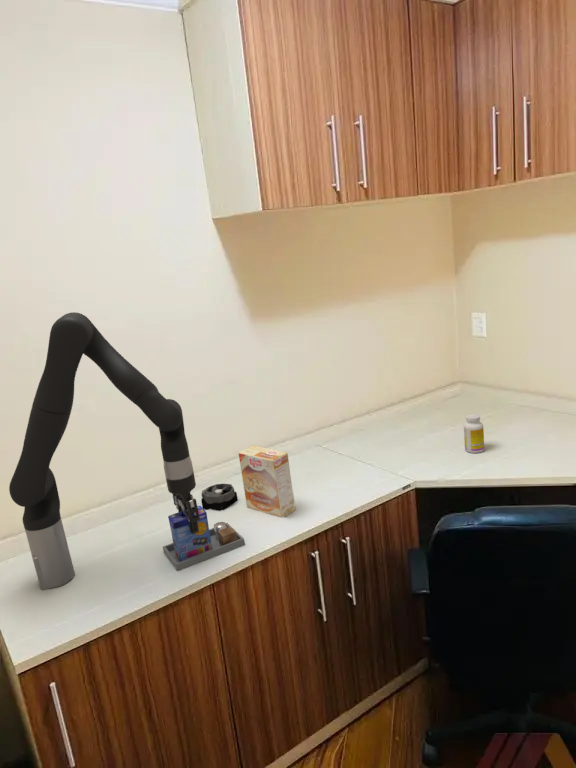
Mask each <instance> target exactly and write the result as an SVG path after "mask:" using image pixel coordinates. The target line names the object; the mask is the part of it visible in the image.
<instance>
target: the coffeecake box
mask: <svg viewBox="0 0 576 768" xmlns="http://www.w3.org/2000/svg"><path fill="white" fill-rule="evenodd" d="M238 459H239V465H240V471H241V478H242V483H243V490H244V496H245V502H246V508H248V509H250V510H253V511H257V512H260V513H264V514H266V515H270V516H275V517H277V518H283V517H285V518H286V517H287V516H288V515H290V514H292V513H293V512H295V511H296V506H295V505H296V504H295V499H294V491H293V482H292V475H291V469H290V468H291V466H290V462H289V454H288V452H285V451H281V450H276V449H271V448H267V447H262V446H257V445H251V446H249V447H247V448H246V449H245V448H244V449H243V450H241V451H239V452H238Z"/></svg>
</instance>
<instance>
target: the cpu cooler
mask: <svg viewBox="0 0 576 768" xmlns="http://www.w3.org/2000/svg"><path fill="white" fill-rule="evenodd" d="M200 499H201V507H202V508H203V509H204V510H205V511H206V510H207V511H209V510H212V511H216V512H217V511H218V512H221V511H225V510H227V509H228V508H229V507H231V506H232V505H233V504H235V503H236V502H238V500H239V499H238V493H237V491H235V487H234V486H233V485H232V483H215V484H213V485H210V486H208V487H206V488H205V489H202V491H201V498H200Z"/></svg>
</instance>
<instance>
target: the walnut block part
mask: <svg viewBox="0 0 576 768" xmlns="http://www.w3.org/2000/svg"><path fill="white" fill-rule="evenodd" d="M231 527H232V526H231ZM231 527H227V528H225V529H222V530H219V531H217V532H218V538H219V543H220V545H221V546H223V545H226V544H228V543H231V542H234V541H236V540H237V535H236V532H237V531H236V530H235V529H234V528H233V527H232V528H233V529H234V530H233V529H232V528H231Z"/></svg>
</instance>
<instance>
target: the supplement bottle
mask: <svg viewBox="0 0 576 768" xmlns="http://www.w3.org/2000/svg"><path fill="white" fill-rule="evenodd" d="M465 419H466V422H465V423H463V434H464V435H463V436H464V437H463V438H464V450H465V451H466V452H467V453H469V454H470V453H471V454H477V453H478V454H479V453H482V452H484V451H485V435H484V434H485V433H484V430H485V429H484V424H483V422H481V421H480V420H481V416H480V415H479V414H477V413H475V414H474V413H472V414H467V415H466V416H465Z"/></svg>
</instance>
